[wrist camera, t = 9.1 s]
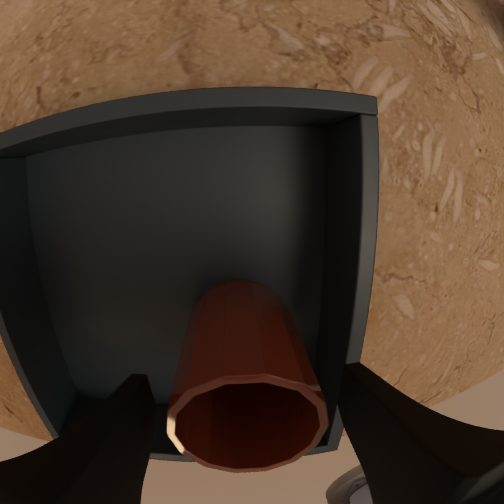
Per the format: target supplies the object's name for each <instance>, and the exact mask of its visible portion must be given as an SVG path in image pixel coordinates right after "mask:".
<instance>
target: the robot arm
mask: <svg viewBox="0 0 504 504" xmlns="http://www.w3.org/2000/svg"><path fill="white" fill-rule="evenodd" d="M337 405H338V409H339V413H340V416H341V420H342V423H343V426H344V428H345V430H346V433H347V435H348V437H349V439H350V442H351V444H352V446H353V448H354V450H355V453H356V455H357V457H358V459H359V462H360V464H361V466H362V469H363V471H364V474H365V477H363V478H359V479H356V480H354V481H353V483H352V485H351V487H350V489H349V490H348V492H347V494H346V496H345V498H344V500H343V502H342V504H504V431H501V430H493V429H488V428H483V427H478V426H474V425H470V424H466V423H463V422H460V421H457V420H455V419H452V418H449V417H447V416H444V415H441V414H440V413H438V412H435V411H433V410H431V409H429V408H427V407H425V406H423V405H421V404H420V403H418V402H416V401H415V400H413V399H411V398H410V397H408V396H406V395H405V394H403V393H402V392H400V391H399V390H397V389H396V388H394V387H393V386H391V385H390V384H389V383H387V382H386V381H384V380H383V379H382V378H380V377H379V376H378V375H376V374H375V373H374V372H372V371H371V370H370V369H368V368H367V367H366V366H364V365H363V364H361V363H360V362H356V363H349V364H344V368H343V374H342V379H341V384H340V389H339V394H338V399H337ZM157 418H158V410H157V407H156V404H155V400H154V397H153V394H152V390H151V387H150V383H149V380H148V376H147V374H133V373H132V374H131V375H130V376H129V377H128V378H127V379H126V380H125V381H124V382H123V383H122V384H121V385H120V386H119V387H118V388H117V389H116V390H115V391H114V392H113V393H112V394H111V395H110V396H108V397H107V398H106V399H105V400H104V401H103V402H102V403H101V404H100V405H99V406H98V407H97V408H96V409H95V410H93V411H92V412H91V413H90V414H89V415H88V416H86V417H85V418H84V419H83V420H82V421H80V422H79V423H78V424H77V425H75V426H74V427H73V428H71V429H70V430H68V431H67V432H65V433H64V434H62V435H61V436H59V437H58V438H56V439H54V440H52V441H50V442H49V443H47V444H45V445H43V446H41V447H39V448H37V449H35V450H33V451H31V452H28V453H26V454H23V455H21V456H18V457H15V458H12V459H9V460H5V461H2V462H0V504H140V503H141V493H142V486H143V481H144V477H145V473H146V468H147V465H148V461H149V458H150V454H151V450H152V446H153V442H154V438H155V434H156V427H157Z"/></svg>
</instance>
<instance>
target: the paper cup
mask: <svg viewBox="0 0 504 504" xmlns="http://www.w3.org/2000/svg"><path fill="white" fill-rule="evenodd" d="M328 426H329V419H328V412H327V405H326V401H325V399H324V396H323V394H322V391H321V389H320V386H319V383H318V381H317V378H316V376H315V373H314V371H313V368H312V366H311V363H310V361H309V358H308V356H307V353H306V351H305V348H304V346H303V343H302V341H301V338H300V336H299V333H298V331H297V328H296V326H295V323H294V321H293V318H292V316H291V313H290V311H289V308H288V307H287V306H286V304H285V303H284V301H283V300H282V298H281V297H280V296H279V295H278V294H277V293H276V292H275V291H273V290H272V289H271V288H269V287H267V286H266V285H263V284H261V283H258V282H254V281H250V280H231V281H227V282H223V283H220V284H218V285H216V286H214V287H212V288H210V289H209V290H207V291H206V292H205V293H204V294H203V295H202V296H201V297H200V298H199V299H198V300H197V302H196V304H195V305H194V308H193V309H192V311H191V313H190V317H189V321H188V325H187V329H186V332H185V336H184V340H183V344H182V348H181V353H180V357H179V361H178V365H177V369H176V373H175V378H174V382H173V386H172V391H171V395H170V399H169V404H168V408H167V420H166V433H167V435H168V437H169V438H170V440H171V441H172V442H173V444H174V445H175V446H176V448H177V449H178V450H179V452H180V453H181V454H183V455H185V456H186V457H188V458H190V459H192V460H194V461H195V462H197V463H199V464H201V465H203V466H205V467H209V468H213V469H218V470H223V471H228V472H235V473H240V472H258V471H267V470H271V469H274V468H277V467H280V466H283V465H286V464H289V463H292V462H294V461H296V460H298V459H299V458H301V457H302V456H303V455H305V454H306V453H308V452H309V451H310V450H312V449H313V448H314V447H316V446H317V445H318V443H319V442H320V440H321V438H322V436H323V435H324V433H325V431H326V429H327V428H328Z"/></svg>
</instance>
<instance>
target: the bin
mask: <svg viewBox="0 0 504 504" xmlns="http://www.w3.org/2000/svg"><path fill="white" fill-rule="evenodd" d="M376 115H378V109H377V97H375V96H369V95H363V94H356V93H348V92H340V91H330V90H320V89H307V88H290V87H220V88H202V89H190V90H179V91H170V92H161V93H154V94H146V95H140V96H134V97H128V98H122V99H117V100H112V101H107V102H102V103H97V104H93V105H88V106H84V107H80V108H76V109H72V110H68V111H65V112H61V113H58V114H54V115H51V116H47V117H44V118H41V119H38V120H35V121H32V122H29V123H26V124H23V125H20V126H17V127H15V128H12V129H9V130H7V131H4V132H2V133H0V334H1V337H2V339H3V342H4V345H5V347H6V349H7V352H8V354H9V357H10V359H11V361H12V364H13V366H14V368H15V370H16V372H17V375H18V377H19V379H20V381H21V383H22V385H23V387H24V389H25V391H26V393H27V395H28V397H29V398H30V400H31V402H32V404H33V406H34V408H35V409H36V411H37V413H38V415H39V416H40V418H41V420H42V421H43V423H44V425H45V426H46V428H47V429H48V431H49V433H51V435H52V437H53V439H56V438H58V437H59V436H61V435H62V434H64V433H65V432H67V431H68V430H70V429H71V428H73V427H74V426H75V425H77V424H78V423H79V422H80V421H82V420H83V419H84V418H85V417H86V416H88V415H89V414H90V413H91V412H92V411H93V410H95V409H96V408H97V407H98V406H99V405H100V404H101V403H102V402H103V401H104V400H105V399H106V398H107V397H108V396H110V395H111V394H112V393H113V392H114V391H115V390H116V389H117V388H118V387H119V386H120V385H121V384H122V383H123V382H124V381H125V380H126V379H127V378H128V377H129V376H130V375H131V374H132V373H133V374H147V376H148V380H149V383H150V387H151V390H152V394H153V397H154V400H155V404H156V407H157V410H158V418H157V427H156V434H155V438H154V442H153V446H152V450H151V454H150V458H149V459H157V460H167V461H182V462H195V461H194V460H192V459H190V458H188V457H186V456H185V455H183V454H181V453H180V452H179V450H178V449H177V448H176V446H175V445H174V444H173V442H172V441H171V440H170V438H169V437H168V435H167V433H166V420H167V408H168V404H169V399H170V395H171V391H172V386H173V382H174V378H175V373H176V369H177V365H178V361H179V357H180V353H181V348H182V344H183V340H184V336H185V332H186V329H187V325H188V321H189V317H190V313H191V311H192V309H193V308H194V305H195V304H196V302H197V300H198V299H199V298H200V297H201V296H202V295H203V294H204V293H205V292H206V291H207V290H209V289H210V288H212V287H214V286H216V285H218V284H220V283H223V282H227V281H231V280H250V281H254V282H258V283H261V284H263V285H266V286H267V287H269V288H271V289H272V290H273V291H275V292H276V293H277V294H278V295H279V296H280V297H281V298H282V300H283V301H284V303H285V304H286V306H287V307H288V308H289V311H290V313H291V316H292V318H293V321H294V323H295V326H296V328H297V331H298V333H299V336H300V338H301V341H302V343H303V346H304V348H305V351H306V353H307V356H308V358H309V361H310V363H311V366H312V368H313V371H314V373H315V376H316V378H317V381H318V383H319V386H320V389H321V391H322V394H323V396H324V399H325V401H326V405H327V412H328V419H329V426H328V428H327V429H326V431H325V433H324V435H323V436H322V438H321V440H320V442H319V443H318V445H317V446H316V447H314V448H313V449H312V450H310V451H309V452H308V453H306V454H305V455H303V456H306V455H313V454H319V453H324V452H330V451H335V450H337V449H338V446H339V442H340V439H341V436H342V432H343V429H344V426H343V423H342V420H341V416H340V413H339V409H338V405H337V399H338V394H339V389H340V384H341V379H342V374H343V368H344V364H349V363H356V362H360V358H361V353H362V347H363V342H364V336H365V330H366V324H367V318H368V311H369V304H370V297H371V289H372V281H373V272H374V262H375V251H376V239H377V223H378V202H379V133H378V117H377V116H376Z"/></svg>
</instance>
